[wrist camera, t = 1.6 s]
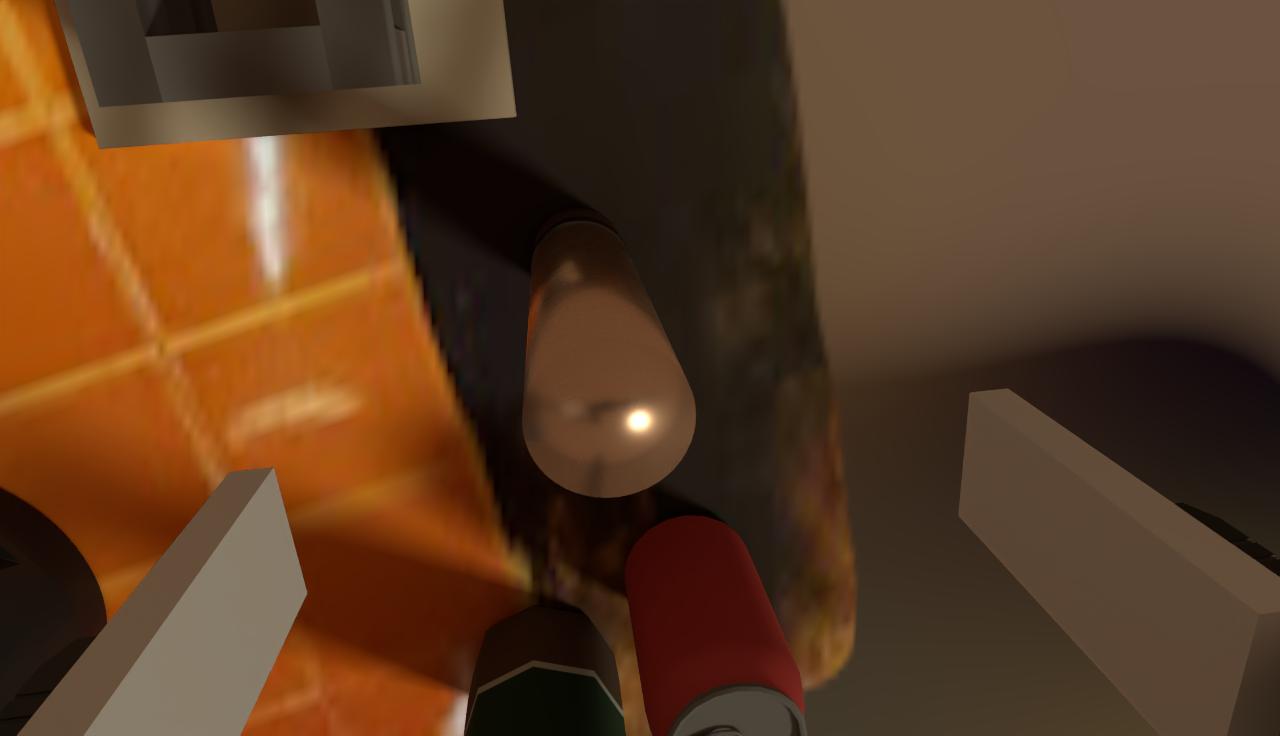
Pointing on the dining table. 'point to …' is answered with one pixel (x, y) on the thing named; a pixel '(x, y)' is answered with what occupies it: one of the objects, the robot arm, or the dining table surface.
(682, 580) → the beer can
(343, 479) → the dining table surface
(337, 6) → the collar stand
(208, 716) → the robot arm
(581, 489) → the copper tube
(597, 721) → the beer bottle
